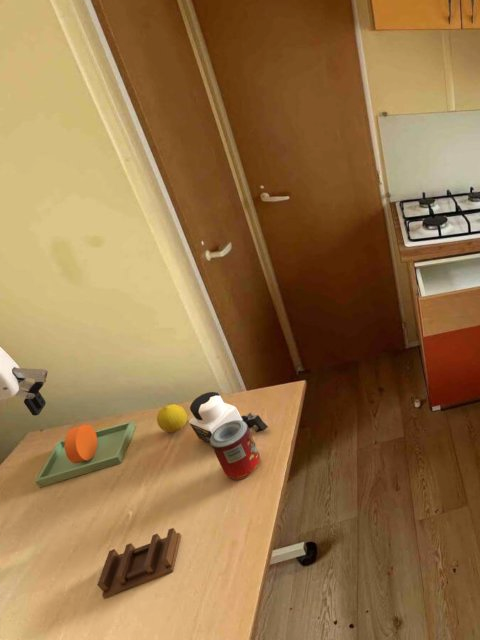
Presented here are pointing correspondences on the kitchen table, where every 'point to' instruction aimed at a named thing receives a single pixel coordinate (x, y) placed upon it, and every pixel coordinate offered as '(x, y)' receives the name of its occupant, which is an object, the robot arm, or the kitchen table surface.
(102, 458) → the tray
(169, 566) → the rack
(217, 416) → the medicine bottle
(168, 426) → the lemon
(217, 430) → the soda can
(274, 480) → the kitchen table surface
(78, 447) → the disc
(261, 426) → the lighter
